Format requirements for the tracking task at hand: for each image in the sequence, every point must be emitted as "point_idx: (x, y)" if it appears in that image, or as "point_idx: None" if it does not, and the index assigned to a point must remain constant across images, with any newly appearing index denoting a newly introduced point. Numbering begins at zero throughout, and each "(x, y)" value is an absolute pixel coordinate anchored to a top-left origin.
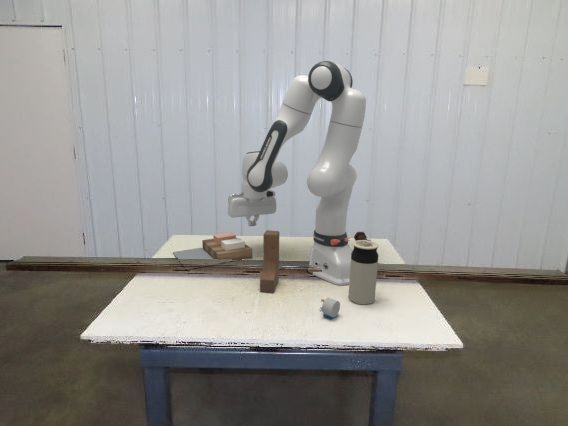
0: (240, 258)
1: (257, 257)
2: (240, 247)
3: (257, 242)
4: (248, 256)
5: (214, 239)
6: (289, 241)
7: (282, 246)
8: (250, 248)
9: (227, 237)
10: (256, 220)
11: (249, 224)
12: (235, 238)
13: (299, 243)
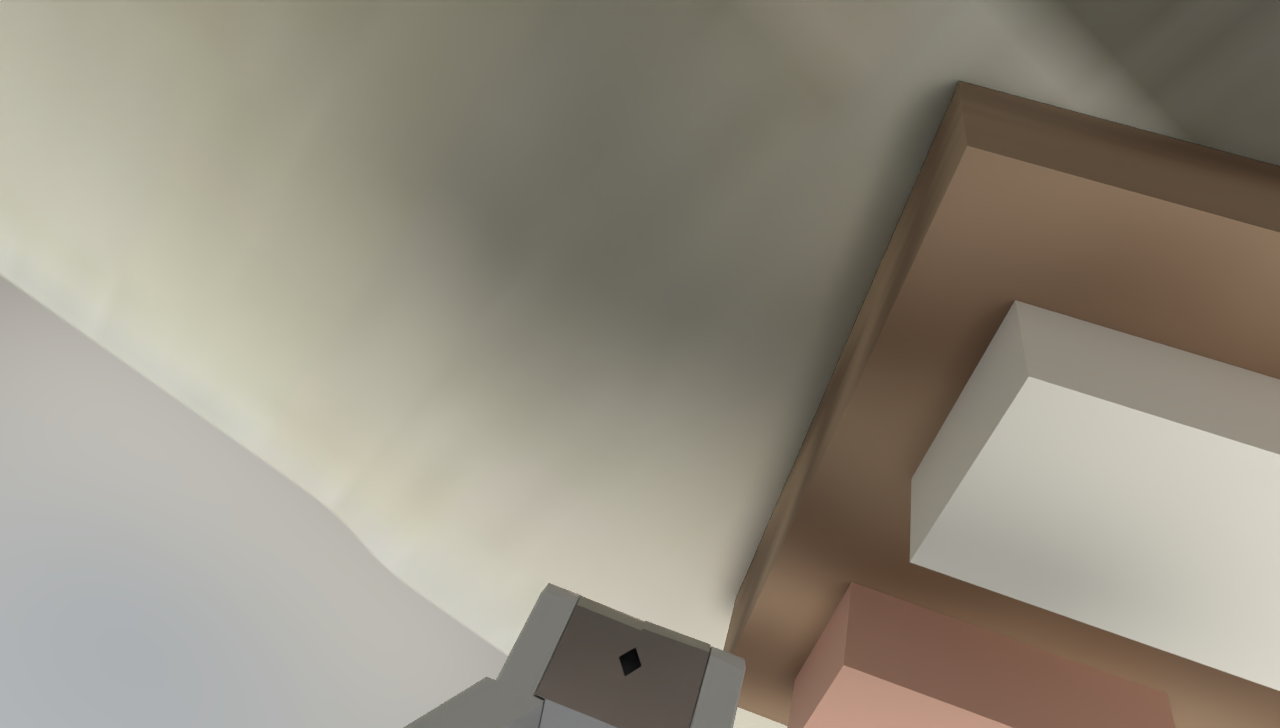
0: (1214, 159)
1: (857, 45)
2: (1119, 339)
3: (474, 459)
4: (1041, 115)
5: None
6: (117, 225)
7: (261, 152)
8: (985, 178)
9: (1000, 708)
10: (478, 715)
11: (733, 712)
12: (857, 621)
13: (11, 76)
